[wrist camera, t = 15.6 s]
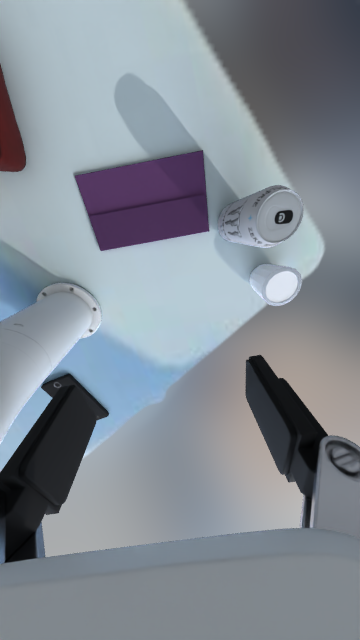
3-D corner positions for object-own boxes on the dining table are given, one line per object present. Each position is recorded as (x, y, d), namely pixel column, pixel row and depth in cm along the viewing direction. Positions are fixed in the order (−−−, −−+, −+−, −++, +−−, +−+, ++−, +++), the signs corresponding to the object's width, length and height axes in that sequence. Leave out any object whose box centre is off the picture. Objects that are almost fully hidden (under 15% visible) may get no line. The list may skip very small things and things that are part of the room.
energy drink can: (216, 205, 30) (253, 184, 17) (251, 201, 30) (316, 177, 17) (216, 243, 33) (248, 252, 19) (248, 239, 33) (302, 246, 19)
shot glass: (251, 259, 34) (269, 265, 28) (284, 261, 35) (309, 268, 29) (242, 292, 37) (257, 305, 31) (273, 294, 38) (293, 307, 32)
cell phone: (69, 373, 45) (67, 375, 44) (109, 413, 53) (108, 416, 52) (42, 384, 46) (39, 387, 45) (85, 421, 54) (84, 424, 53)
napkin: (101, 250, 32) (99, 251, 32) (75, 176, 27) (73, 174, 27) (208, 231, 32) (209, 231, 31) (202, 151, 27) (203, 149, 26)
